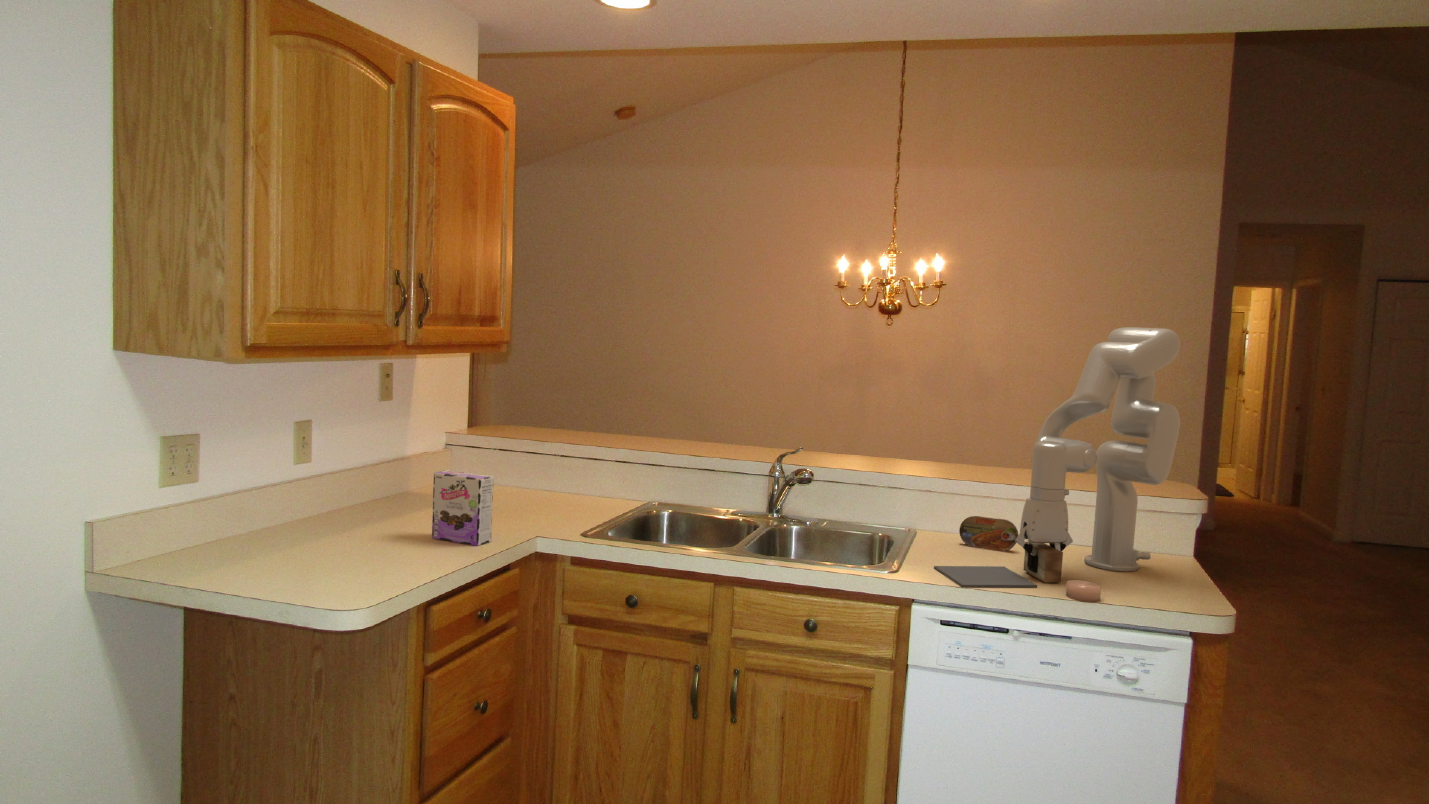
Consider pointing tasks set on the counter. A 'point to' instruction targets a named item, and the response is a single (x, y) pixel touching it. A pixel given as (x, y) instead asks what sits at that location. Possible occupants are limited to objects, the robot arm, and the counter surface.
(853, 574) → the counter surface
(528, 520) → the counter surface
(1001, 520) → the tin
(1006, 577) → the mat
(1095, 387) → the robot arm
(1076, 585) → the pink round puck
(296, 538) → the counter surface
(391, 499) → the counter surface
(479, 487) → the candy box
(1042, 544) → the slab
